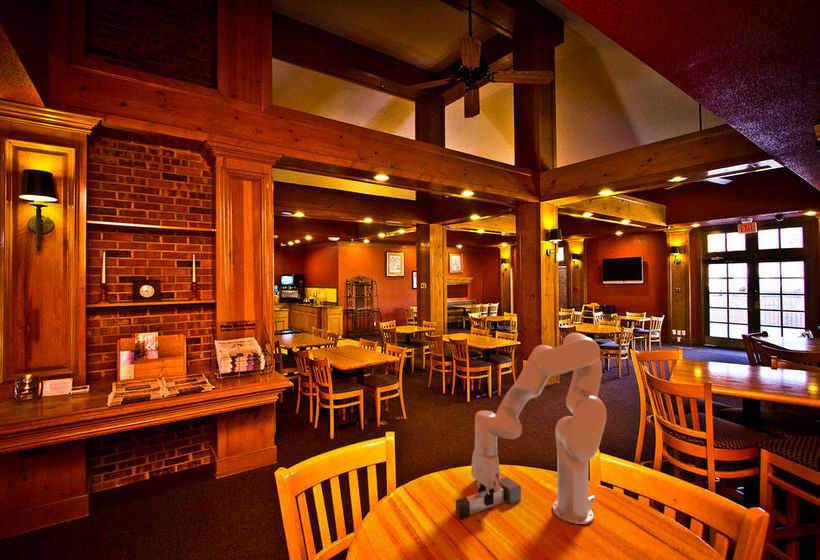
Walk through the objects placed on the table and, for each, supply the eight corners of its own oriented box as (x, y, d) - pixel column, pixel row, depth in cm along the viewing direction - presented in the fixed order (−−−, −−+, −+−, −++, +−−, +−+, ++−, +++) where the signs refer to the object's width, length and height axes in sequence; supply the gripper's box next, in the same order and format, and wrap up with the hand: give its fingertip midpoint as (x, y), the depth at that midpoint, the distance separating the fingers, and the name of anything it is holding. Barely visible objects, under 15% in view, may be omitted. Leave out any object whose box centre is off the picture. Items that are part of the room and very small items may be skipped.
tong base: (506, 491, 137) (506, 476, 137) (520, 501, 131) (520, 485, 131) (452, 512, 125) (452, 495, 125) (465, 523, 119) (465, 506, 119)
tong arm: (501, 500, 131) (501, 487, 131) (504, 502, 129) (504, 489, 129) (457, 517, 122) (457, 503, 122) (459, 519, 120) (459, 505, 120)
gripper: (462, 441, 133) (462, 493, 133) (493, 461, 119) (493, 518, 119) (479, 437, 137) (479, 487, 137) (511, 455, 122) (511, 511, 122)
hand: (485, 501), depth 128 cm, fingers open, 2 cm apart
